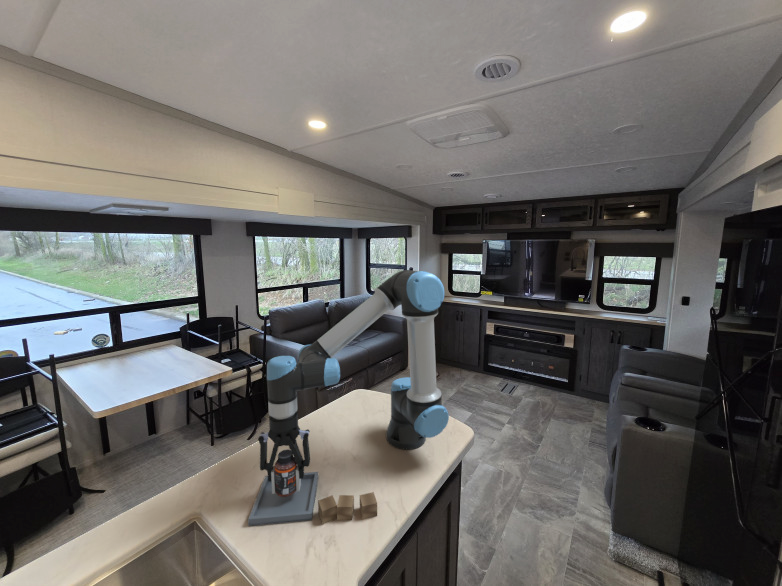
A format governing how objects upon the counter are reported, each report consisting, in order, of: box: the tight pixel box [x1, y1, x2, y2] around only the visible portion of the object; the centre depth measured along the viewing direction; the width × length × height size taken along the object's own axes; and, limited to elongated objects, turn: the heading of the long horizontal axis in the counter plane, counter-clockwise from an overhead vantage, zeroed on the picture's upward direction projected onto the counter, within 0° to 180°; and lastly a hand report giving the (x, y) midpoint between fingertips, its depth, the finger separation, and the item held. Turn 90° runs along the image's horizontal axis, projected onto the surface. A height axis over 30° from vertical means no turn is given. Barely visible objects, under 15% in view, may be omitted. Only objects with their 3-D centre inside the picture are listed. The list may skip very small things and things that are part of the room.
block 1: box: [317, 494, 338, 525], centre depth 83 cm, size 4×4×4 cm
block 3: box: [359, 491, 378, 520], centre depth 85 cm, size 4×4×4 cm
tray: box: [247, 471, 320, 527], centre depth 89 cm, size 16×16×2 cm
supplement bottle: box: [274, 449, 297, 497], centre depth 88 cm, size 6×6×11 cm
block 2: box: [336, 494, 355, 521], centre depth 84 cm, size 4×4×4 cm
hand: (286, 488), depth 89 cm, fingers closed on supplement bottle, 6 cm apart
